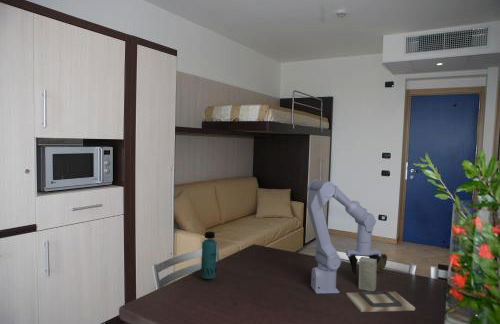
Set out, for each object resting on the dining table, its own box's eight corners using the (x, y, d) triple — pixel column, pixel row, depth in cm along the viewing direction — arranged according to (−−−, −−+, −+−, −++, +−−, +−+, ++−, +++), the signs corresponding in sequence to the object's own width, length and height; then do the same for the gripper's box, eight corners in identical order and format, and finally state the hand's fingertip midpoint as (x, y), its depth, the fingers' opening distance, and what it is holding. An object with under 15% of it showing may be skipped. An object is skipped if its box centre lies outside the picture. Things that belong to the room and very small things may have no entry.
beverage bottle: (197, 280, 140) (198, 233, 139) (205, 275, 146) (206, 229, 145) (211, 283, 137) (212, 235, 136) (219, 277, 143) (220, 231, 142)
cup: (388, 275, 152) (388, 257, 151) (370, 273, 153) (371, 256, 153) (384, 269, 159) (385, 252, 159) (368, 267, 161) (369, 251, 160)
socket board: (361, 311, 117) (361, 306, 117) (346, 295, 130) (346, 290, 130) (415, 310, 119) (415, 304, 119) (395, 294, 132) (395, 289, 132)
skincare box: (376, 288, 137) (377, 259, 136) (373, 292, 133) (375, 262, 133) (360, 284, 140) (361, 256, 140) (357, 288, 137) (359, 259, 136)
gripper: (376, 238, 145) (374, 269, 146) (343, 238, 143) (342, 269, 144) (384, 242, 138) (382, 275, 139) (350, 242, 136) (349, 275, 137)
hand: (362, 272), depth 141 cm, fingers open, 7 cm apart
